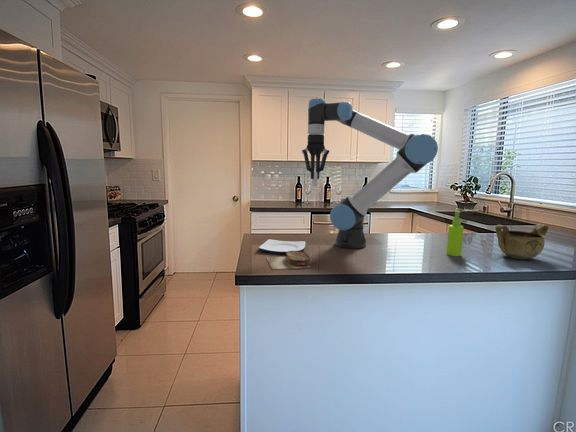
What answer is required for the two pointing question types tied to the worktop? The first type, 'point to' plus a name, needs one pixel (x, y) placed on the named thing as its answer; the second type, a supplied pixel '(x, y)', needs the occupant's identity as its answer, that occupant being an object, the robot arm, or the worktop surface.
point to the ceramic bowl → (521, 241)
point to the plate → (281, 246)
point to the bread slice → (298, 258)
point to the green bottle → (455, 236)
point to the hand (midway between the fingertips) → (314, 186)
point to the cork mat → (282, 263)
